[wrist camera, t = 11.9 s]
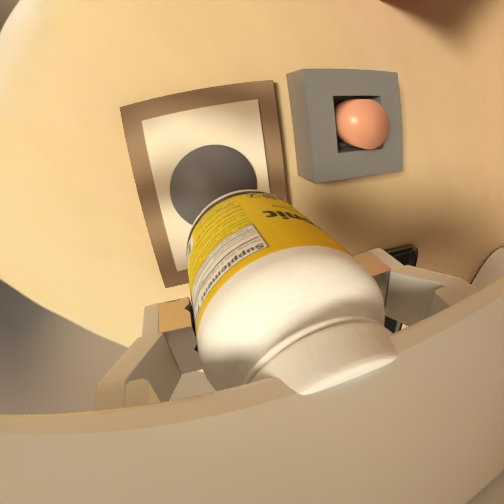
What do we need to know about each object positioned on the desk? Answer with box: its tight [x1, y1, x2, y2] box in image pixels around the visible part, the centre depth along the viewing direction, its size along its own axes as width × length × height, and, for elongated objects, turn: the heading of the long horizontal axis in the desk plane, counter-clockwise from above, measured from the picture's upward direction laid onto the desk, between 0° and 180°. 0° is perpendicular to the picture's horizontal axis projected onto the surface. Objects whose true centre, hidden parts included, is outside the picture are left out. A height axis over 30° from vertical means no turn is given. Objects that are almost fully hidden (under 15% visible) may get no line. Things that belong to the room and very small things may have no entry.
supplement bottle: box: [186, 190, 397, 395], centre depth 10 cm, size 5×5×10 cm
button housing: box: [286, 69, 403, 184], centre depth 23 cm, size 9×9×4 cm
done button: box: [334, 99, 389, 149], centre depth 22 cm, size 4×4×3 cm
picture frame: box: [120, 80, 287, 288], centre depth 24 cm, size 16×12×1 cm
